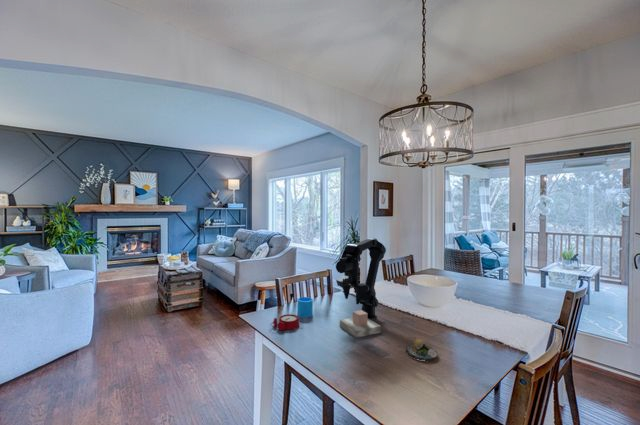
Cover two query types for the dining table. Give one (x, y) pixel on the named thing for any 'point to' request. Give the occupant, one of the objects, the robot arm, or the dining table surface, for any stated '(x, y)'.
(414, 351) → the plate of food
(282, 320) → the alarm clock
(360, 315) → the cube
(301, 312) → the mug
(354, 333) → the plinth
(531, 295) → the dining table surface
